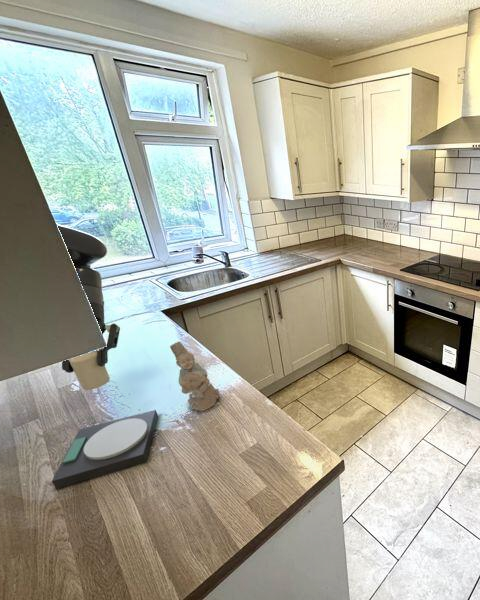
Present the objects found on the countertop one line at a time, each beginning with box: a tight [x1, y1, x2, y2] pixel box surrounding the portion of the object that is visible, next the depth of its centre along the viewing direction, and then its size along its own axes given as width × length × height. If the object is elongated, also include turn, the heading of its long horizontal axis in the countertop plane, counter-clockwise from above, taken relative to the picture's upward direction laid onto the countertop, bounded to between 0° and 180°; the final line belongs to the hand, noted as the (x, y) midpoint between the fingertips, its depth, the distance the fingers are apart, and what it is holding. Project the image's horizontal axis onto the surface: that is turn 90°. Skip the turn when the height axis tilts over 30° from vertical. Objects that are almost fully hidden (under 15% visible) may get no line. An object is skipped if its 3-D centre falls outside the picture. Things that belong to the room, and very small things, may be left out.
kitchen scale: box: [51, 409, 159, 490], centre depth 79 cm, size 16×16×3 cm
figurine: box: [169, 341, 220, 412], centre depth 91 cm, size 9×8×20 cm
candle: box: [69, 349, 111, 391], centre depth 82 cm, size 6×6×10 cm
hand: (85, 368), depth 81 cm, fingers closed on candle, 5 cm apart
